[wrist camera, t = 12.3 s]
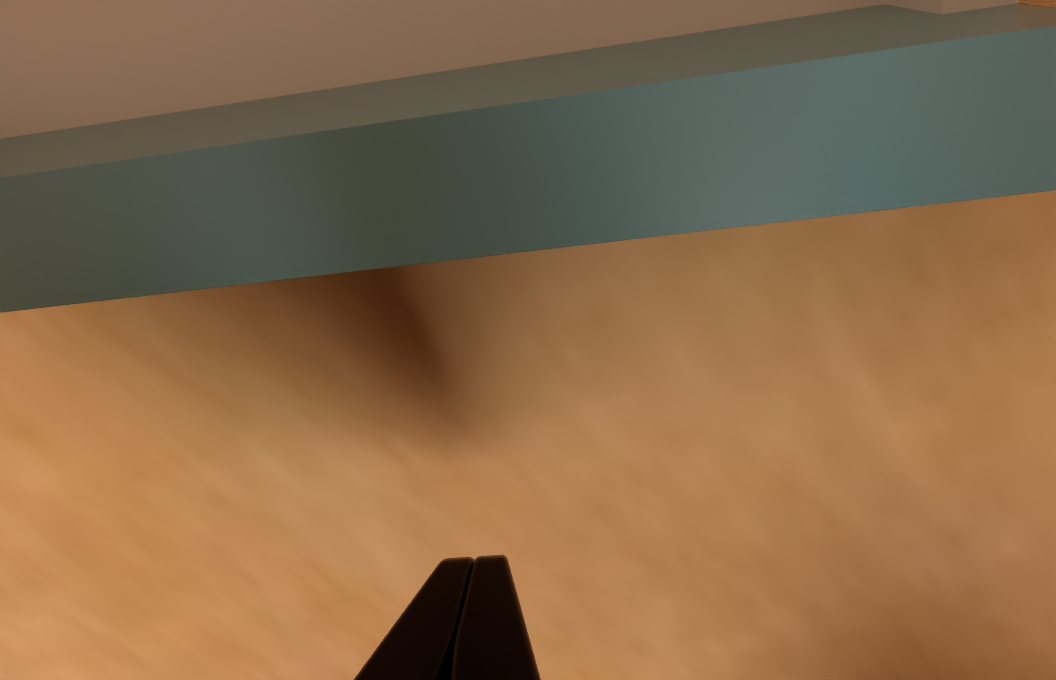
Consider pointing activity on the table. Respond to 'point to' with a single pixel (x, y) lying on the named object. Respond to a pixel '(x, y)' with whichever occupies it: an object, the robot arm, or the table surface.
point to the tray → (484, 128)
